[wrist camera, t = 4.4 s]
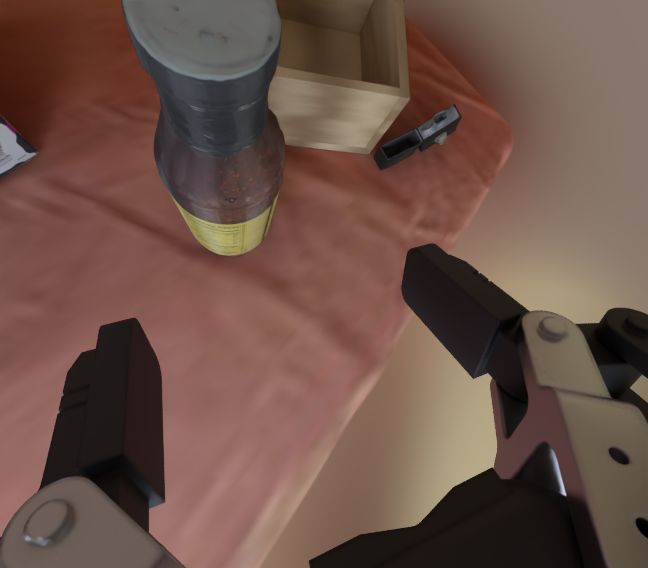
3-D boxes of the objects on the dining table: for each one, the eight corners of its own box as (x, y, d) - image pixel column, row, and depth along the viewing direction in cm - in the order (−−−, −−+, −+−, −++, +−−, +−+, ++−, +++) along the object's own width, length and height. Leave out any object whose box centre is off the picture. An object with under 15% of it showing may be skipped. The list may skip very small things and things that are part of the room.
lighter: (385, 181, 35) (382, 171, 30) (376, 163, 35) (371, 151, 30) (459, 136, 33) (468, 118, 28) (449, 118, 33) (456, 96, 28)
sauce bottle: (223, 173, 28) (197, -156, 9) (282, 219, 29) (373, 4, 10) (170, 231, 26) (5, -26, 7) (235, 278, 27) (235, 155, 8)
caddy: (244, 140, 29) (247, 72, 21) (245, 13, 31) (248, -93, 23) (368, 154, 32) (410, 98, 24) (363, 38, 34) (400, -49, 26)
